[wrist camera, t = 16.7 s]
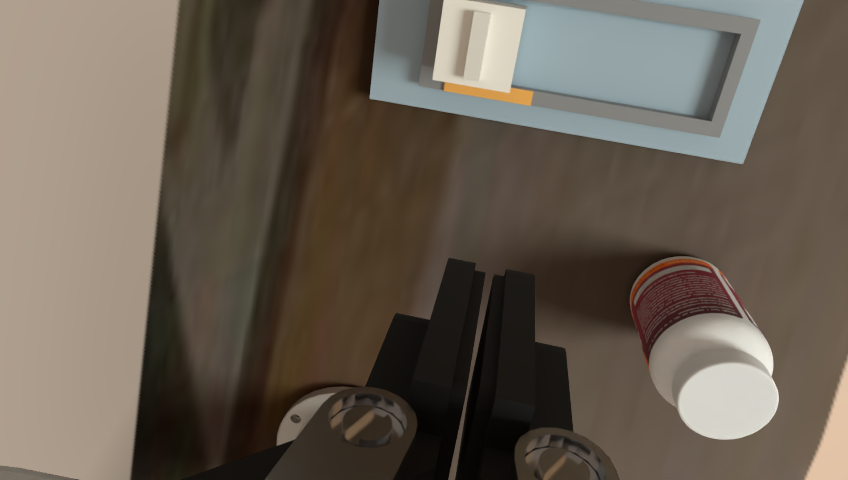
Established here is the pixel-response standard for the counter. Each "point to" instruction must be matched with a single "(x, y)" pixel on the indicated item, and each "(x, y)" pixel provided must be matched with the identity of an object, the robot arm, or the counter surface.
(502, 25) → the white block with handle
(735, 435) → the pill bottle
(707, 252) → the counter surface
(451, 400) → the robot arm
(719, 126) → the switch bank
